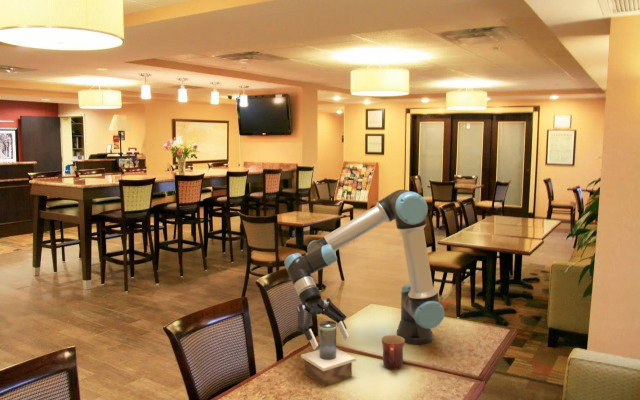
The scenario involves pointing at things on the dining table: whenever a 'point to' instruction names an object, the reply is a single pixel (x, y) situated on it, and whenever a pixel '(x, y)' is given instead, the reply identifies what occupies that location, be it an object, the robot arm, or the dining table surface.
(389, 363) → the mug
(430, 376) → the dining table surface
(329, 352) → the grey can
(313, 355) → the pedestal
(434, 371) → the dining table surface
